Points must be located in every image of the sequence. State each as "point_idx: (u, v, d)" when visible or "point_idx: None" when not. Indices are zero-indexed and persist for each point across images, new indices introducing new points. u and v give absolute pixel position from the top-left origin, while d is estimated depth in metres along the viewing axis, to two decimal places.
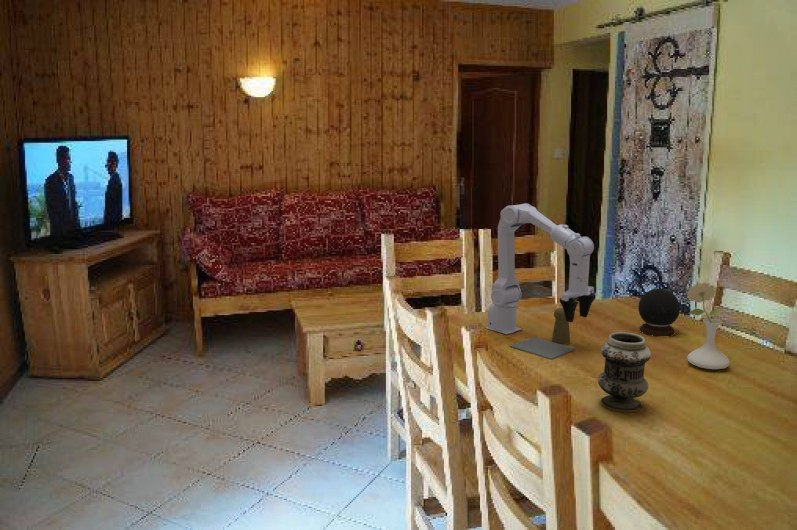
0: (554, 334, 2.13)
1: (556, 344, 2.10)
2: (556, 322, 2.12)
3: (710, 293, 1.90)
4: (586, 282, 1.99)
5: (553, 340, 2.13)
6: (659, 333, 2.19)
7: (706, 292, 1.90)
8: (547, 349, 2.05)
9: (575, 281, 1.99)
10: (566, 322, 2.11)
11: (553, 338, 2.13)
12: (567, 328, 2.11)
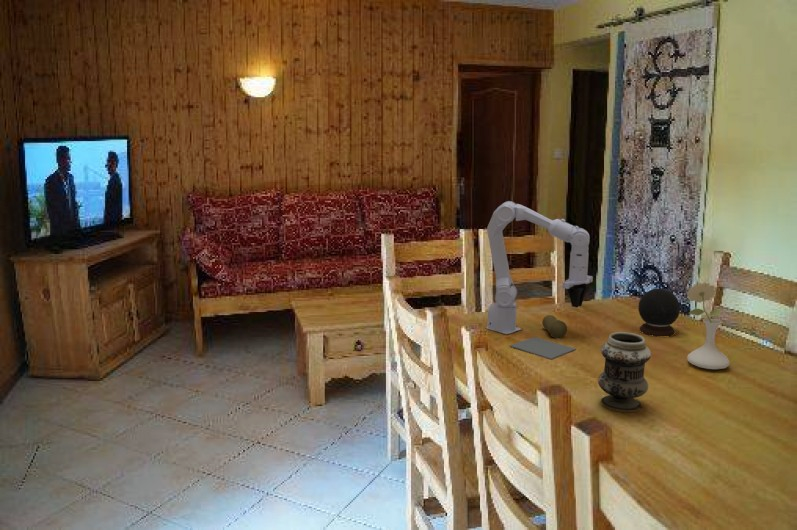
0: (548, 325, 2.19)
1: (556, 344, 2.10)
2: (546, 322, 2.23)
3: (710, 293, 1.90)
4: (585, 271, 2.12)
5: (549, 326, 2.17)
6: (659, 333, 2.19)
7: (706, 292, 1.90)
8: (547, 349, 2.05)
9: (575, 270, 2.12)
10: (554, 318, 2.23)
11: (549, 327, 2.18)
12: (557, 320, 2.21)
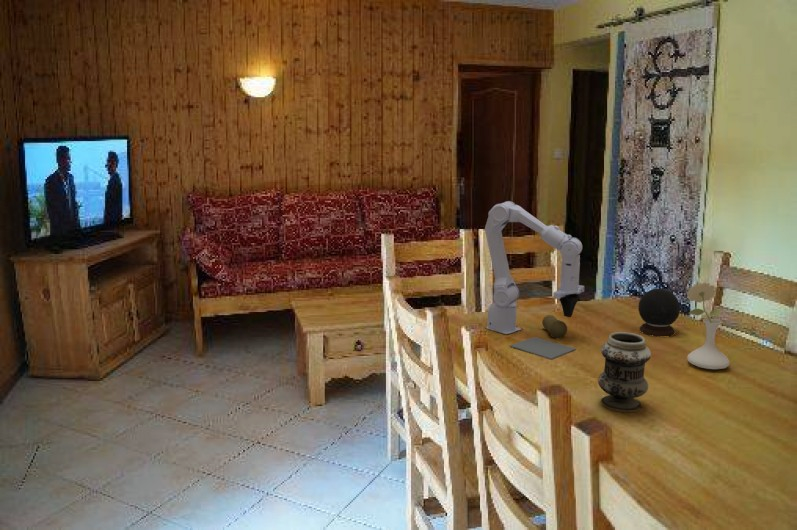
0: (548, 325, 2.19)
1: (556, 344, 2.10)
2: (546, 322, 2.23)
3: (710, 293, 1.90)
4: (577, 281, 2.10)
5: (549, 326, 2.17)
6: (659, 333, 2.19)
7: (707, 292, 1.90)
8: (547, 349, 2.05)
9: (566, 280, 2.10)
10: (554, 318, 2.23)
11: (549, 327, 2.18)
12: (557, 320, 2.21)
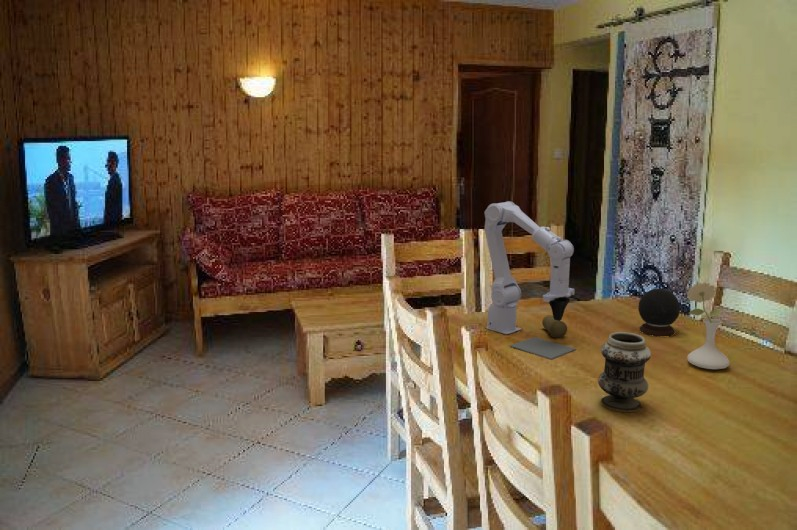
0: (548, 325, 2.19)
1: (556, 344, 2.10)
2: (546, 322, 2.23)
3: (710, 293, 1.90)
4: (566, 284, 2.06)
5: (549, 326, 2.17)
6: (659, 333, 2.19)
7: (706, 292, 1.90)
8: (547, 349, 2.05)
9: (556, 283, 2.06)
10: None
11: (549, 327, 2.18)
12: None
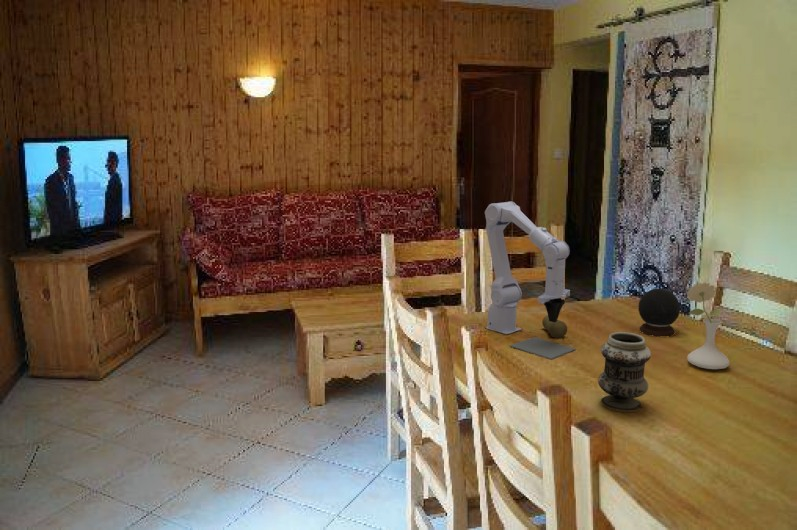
0: (548, 325, 2.19)
1: (556, 344, 2.10)
2: (546, 322, 2.23)
3: (710, 293, 1.90)
4: (562, 285, 2.04)
5: (549, 326, 2.17)
6: (659, 333, 2.19)
7: (707, 292, 1.90)
8: (547, 349, 2.05)
9: (551, 284, 2.04)
10: None
11: (549, 327, 2.18)
12: None
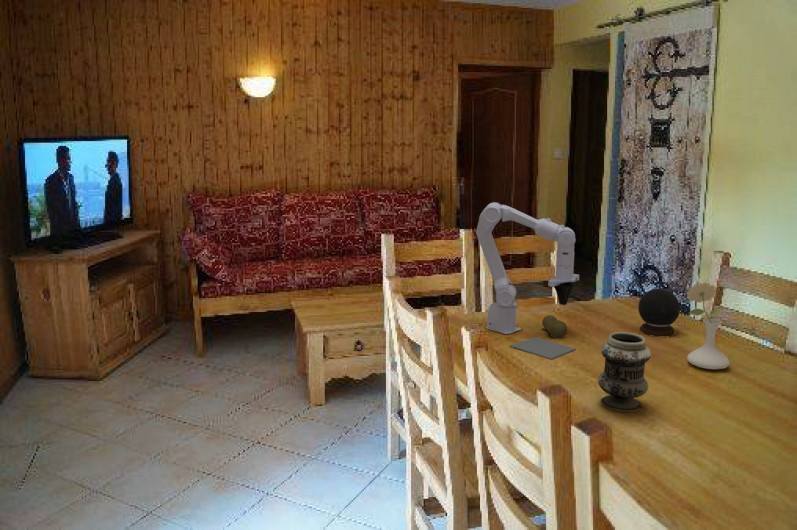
0: (548, 325, 2.19)
1: (556, 344, 2.10)
2: (546, 322, 2.23)
3: (710, 293, 1.90)
4: (571, 269, 2.15)
5: (549, 326, 2.17)
6: (659, 333, 2.19)
7: (707, 292, 1.90)
8: (547, 349, 2.05)
9: (561, 269, 2.15)
10: (554, 318, 2.23)
11: (549, 327, 2.18)
12: (557, 320, 2.21)
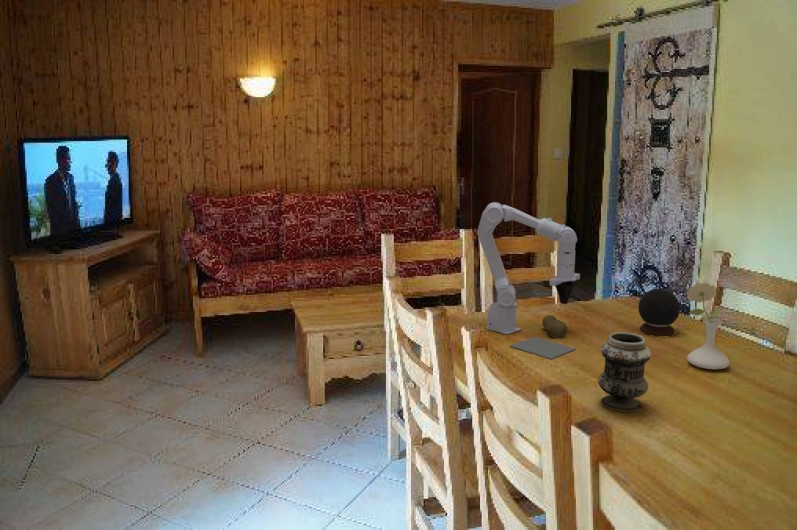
0: (548, 325, 2.19)
1: (556, 344, 2.10)
2: (546, 322, 2.23)
3: (710, 293, 1.90)
4: (572, 269, 2.16)
5: (549, 326, 2.17)
6: (659, 333, 2.19)
7: (707, 292, 1.90)
8: (547, 349, 2.05)
9: (562, 268, 2.16)
10: (554, 318, 2.23)
11: (549, 327, 2.18)
12: (557, 320, 2.21)
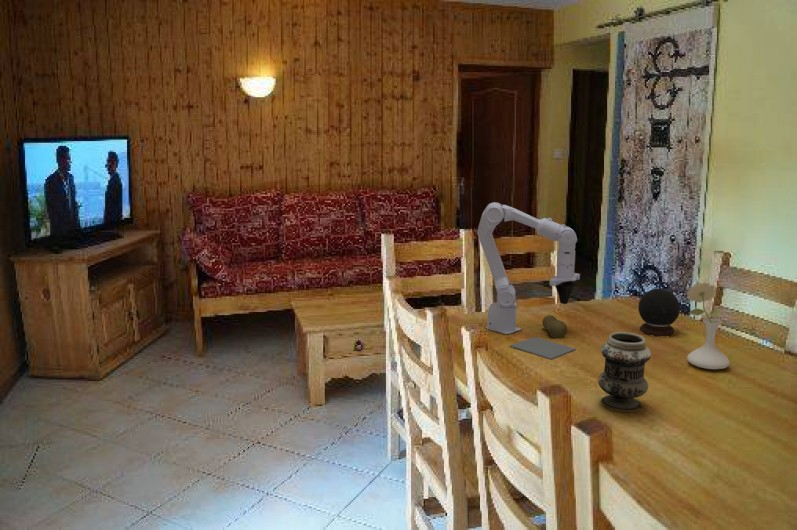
0: (548, 325, 2.19)
1: (556, 344, 2.10)
2: (546, 322, 2.23)
3: (710, 293, 1.90)
4: (572, 269, 2.16)
5: (549, 326, 2.17)
6: (659, 333, 2.19)
7: (707, 292, 1.90)
8: (547, 349, 2.05)
9: (562, 268, 2.16)
10: (554, 318, 2.23)
11: (549, 327, 2.18)
12: (557, 320, 2.21)
